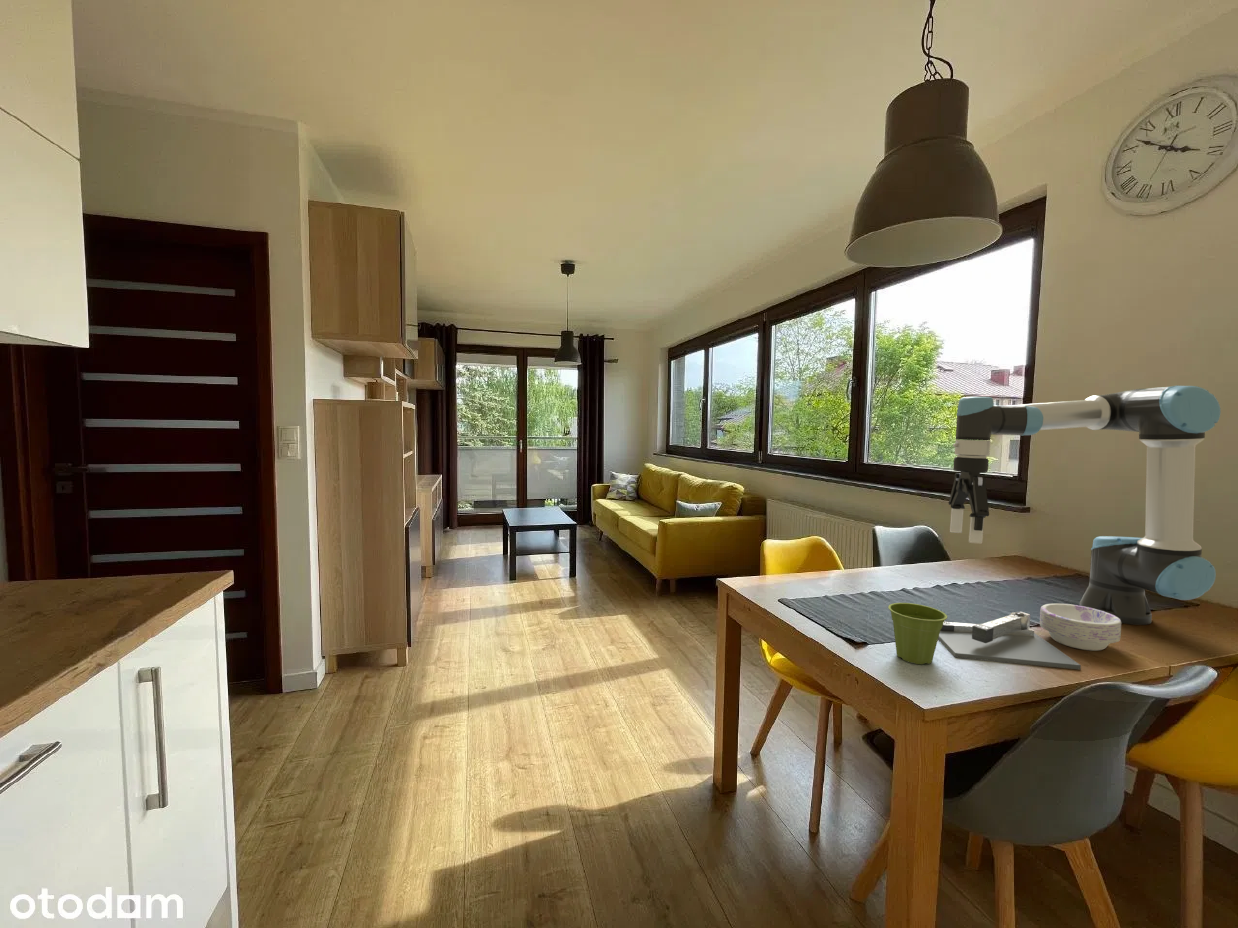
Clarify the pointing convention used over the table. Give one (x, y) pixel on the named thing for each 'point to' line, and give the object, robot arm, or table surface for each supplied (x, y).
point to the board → (1007, 649)
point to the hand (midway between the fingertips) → (965, 537)
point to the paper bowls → (1080, 626)
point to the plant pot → (916, 631)
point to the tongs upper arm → (1001, 627)
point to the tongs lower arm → (968, 627)
